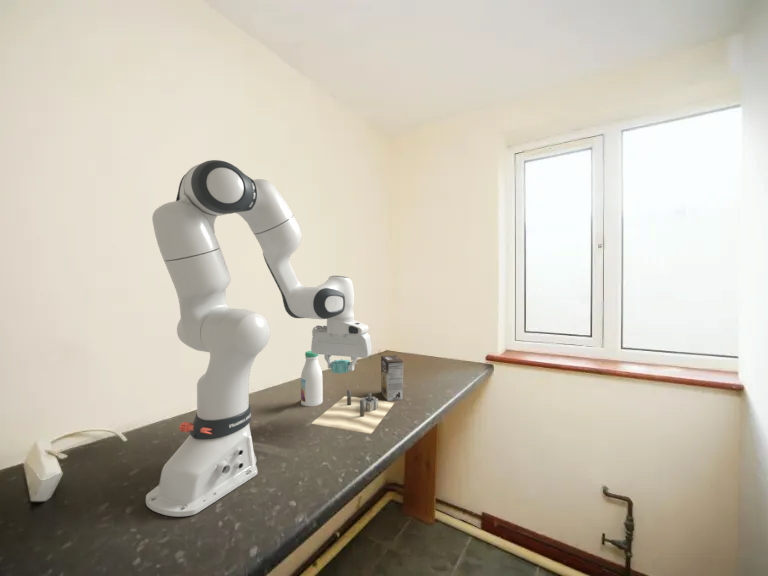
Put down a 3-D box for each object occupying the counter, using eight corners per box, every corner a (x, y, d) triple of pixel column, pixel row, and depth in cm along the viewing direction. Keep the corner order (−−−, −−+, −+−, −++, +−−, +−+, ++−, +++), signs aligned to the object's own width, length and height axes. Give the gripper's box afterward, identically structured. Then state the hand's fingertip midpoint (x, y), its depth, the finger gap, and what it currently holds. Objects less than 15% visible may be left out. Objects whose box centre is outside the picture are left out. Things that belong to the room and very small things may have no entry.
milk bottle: (325, 402, 113) (325, 349, 113) (318, 410, 106) (318, 354, 105) (305, 401, 114) (305, 349, 114) (297, 409, 106) (297, 353, 106)
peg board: (371, 438, 86) (371, 416, 86) (310, 428, 93) (310, 407, 93) (394, 406, 109) (394, 388, 109) (345, 399, 116) (345, 383, 116)
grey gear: (376, 412, 101) (376, 403, 101) (359, 410, 102) (359, 402, 102) (379, 405, 107) (379, 396, 107) (363, 404, 108) (363, 395, 108)
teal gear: (345, 374, 93) (345, 364, 93) (328, 372, 95) (328, 363, 95) (352, 369, 99) (352, 360, 99) (337, 367, 100) (337, 358, 100)
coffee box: (380, 396, 119) (380, 355, 119) (395, 394, 121) (395, 354, 121) (387, 405, 111) (387, 361, 110) (403, 403, 112) (403, 360, 112)
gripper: (307, 326, 97) (307, 369, 97) (366, 329, 90) (366, 374, 91) (317, 323, 103) (317, 364, 103) (373, 326, 96) (373, 369, 97)
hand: (341, 369), depth 97 cm, fingers closed on teal gear, 6 cm apart
